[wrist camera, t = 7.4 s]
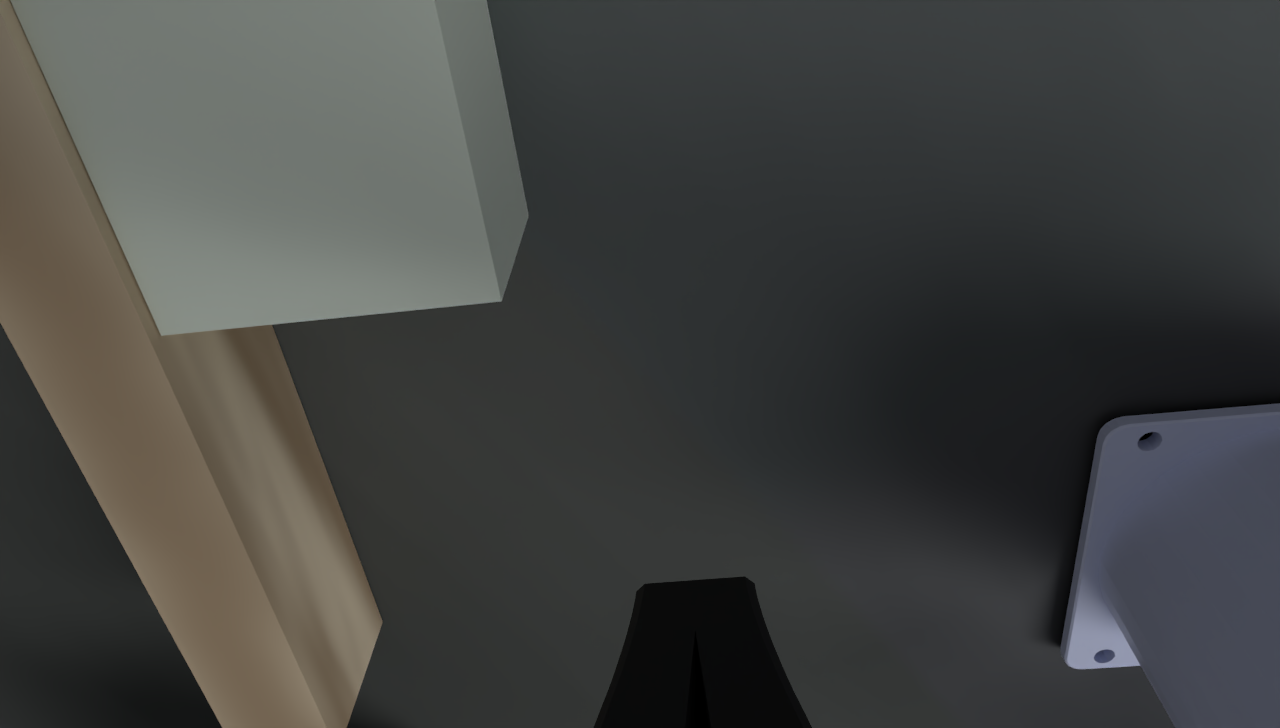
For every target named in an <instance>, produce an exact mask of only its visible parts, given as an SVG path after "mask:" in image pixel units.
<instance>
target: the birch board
mask: <svg viewBox="0 0 1280 728" xmlns="http://www.w3.org/2000/svg"><path fill="white" fill-rule="evenodd" d="M0 323H1V325H2V327H3V328H4V330H5V332H6V334H7V336H8V338H9V339H10V341H11V343H12V345H13V347H14V349H15V350H16V352H17V354H18V356H19V358H20V359H21V361H22V363H23V365H24V367H25V369H26V370H27V372H28V374H29V376H30V378H31V380H32V381H33V383H34V385H35V387H36V389H37V390H38V392H39V394H40V396H41V398H42V400H43V401H44V403H45V405H46V407H47V409H48V411H49V412H50V414H51V416H52V418H53V420H54V422H55V423H56V425H57V427H58V429H59V431H60V432H61V434H62V436H63V438H64V440H65V442H66V443H67V445H68V447H69V449H70V451H71V453H72V454H73V456H74V458H75V460H76V462H77V463H78V465H79V467H80V469H81V471H82V473H83V474H84V476H85V478H86V480H87V482H88V484H89V485H90V487H91V489H92V491H93V493H94V495H95V496H96V498H97V500H98V502H99V504H100V505H101V507H102V509H103V511H104V513H105V515H106V516H107V518H108V520H109V522H110V524H111V526H112V527H113V529H114V531H115V533H116V535H117V536H118V538H119V540H120V542H121V544H122V546H123V547H124V549H125V551H126V553H127V555H128V557H129V558H130V560H131V562H132V564H133V566H134V567H135V569H136V571H137V573H138V575H139V577H140V578H141V580H142V582H143V584H144V586H145V588H146V589H147V591H148V593H149V595H150V597H151V599H152V600H153V602H154V604H155V606H156V608H157V609H158V611H159V613H160V615H161V617H162V619H163V620H164V622H165V624H166V626H167V628H168V630H169V631H170V633H171V635H172V637H173V639H174V640H175V642H176V644H177V646H178V648H179V650H180V651H181V653H182V655H183V657H184V659H185V661H186V662H187V664H188V666H189V668H190V670H191V672H192V673H193V675H194V677H195V679H196V681H197V682H198V684H199V686H200V688H201V690H202V692H203V693H204V695H205V697H206V699H207V701H208V703H209V704H210V706H211V708H212V710H213V712H214V713H215V715H216V717H217V719H218V721H219V723H220V724H221V726H222V728H347V725H348V722H349V719H350V716H351V713H352V710H353V707H354V705H355V702H356V699H357V696H358V693H359V690H360V687H361V684H362V681H363V678H364V675H365V672H366V669H367V666H368V663H369V660H370V658H371V655H372V652H373V649H374V646H375V643H376V640H377V637H378V634H379V631H380V628H381V625H382V622H383V621H382V619H381V616H380V613H379V611H378V608H377V605H376V602H375V600H374V597H373V594H372V592H371V589H370V586H369V584H368V581H367V578H366V576H365V573H364V570H363V568H362V565H361V562H360V560H359V557H358V554H357V552H356V549H355V546H354V543H353V541H352V538H351V535H350V533H349V530H348V527H347V525H346V522H345V519H344V517H343V514H342V511H341V509H340V506H339V503H338V501H337V498H336V495H335V493H334V490H333V487H332V484H331V482H330V479H329V476H328V474H327V471H326V468H325V466H324V463H323V460H322V458H321V455H320V452H319V450H318V447H317V444H316V442H315V439H314V436H313V434H312V431H311V428H310V425H309V423H308V420H307V417H306V415H305V412H304V409H303V407H302V404H301V401H300V399H299V396H298V393H297V391H296V388H295V385H294V383H293V380H292V377H291V374H290V372H289V369H288V366H287V364H286V361H285V358H284V356H283V353H282V350H281V348H280V345H279V342H278V340H277V337H276V334H275V332H274V329H273V326H272V325H263V326H253V327H243V328H233V329H223V330H213V331H203V332H193V333H183V334H174V335H164V336H161V334H160V332H159V330H158V327H157V325H156V323H155V321H154V319H153V316H152V314H151V312H150V310H149V307H148V305H147V303H146V301H145V299H144V296H143V294H142V292H141V290H140V287H139V285H138V283H137V281H136V279H135V276H134V274H133V272H132V270H131V267H130V265H129V263H128V261H127V259H126V256H125V254H124V252H123V250H122V247H121V245H120V243H119V241H118V239H117V236H116V234H115V232H114V230H113V227H112V225H111V223H110V221H109V219H108V216H107V214H106V212H105V210H104V207H103V205H102V203H101V201H100V199H99V196H98V194H97V192H96V190H95V187H94V185H93V183H92V181H91V179H90V176H89V174H88V172H87V170H86V167H85V165H84V163H83V161H82V159H81V156H80V154H79V152H78V150H77V147H76V145H75V143H74V141H73V139H72V136H71V134H70V132H69V130H68V127H67V125H66V123H65V121H64V119H63V116H62V114H61V112H60V110H59V107H58V105H57V103H56V101H55V99H54V96H53V94H52V92H51V90H50V87H49V85H48V83H47V81H46V79H45V76H44V74H43V72H42V70H41V67H40V65H39V63H38V61H37V59H36V56H35V54H34V52H33V50H32V47H31V45H30V43H29V41H28V39H27V36H26V34H25V32H24V30H23V27H22V25H21V23H20V21H19V19H18V16H17V14H16V12H15V10H14V7H13V5H12V3H11V1H10V0H0Z"/></svg>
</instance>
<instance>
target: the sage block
mask: <svg viewBox="0 0 1280 728" xmlns="http://www.w3.org/2000/svg"><path fill="white" fill-rule="evenodd" d="M10 1H11V3H12V5H13V7H14V10H15V12H16V14H17V16H18V19H19V21H20V23H21V25H22V27H23V30H24V32H25V34H26V36H27V39H28V41H29V43H30V45H31V47H32V50H33V52H34V54H35V56H36V59H37V61H38V63H39V65H40V67H41V70H42V72H43V74H44V76H45V79H46V81H47V83H48V85H49V87H50V90H51V92H52V94H53V96H54V99H55V101H56V103H57V105H58V107H59V110H60V112H61V114H62V116H63V119H64V121H65V123H66V125H67V127H68V130H69V132H70V134H71V136H72V139H73V141H74V143H75V145H76V147H77V150H78V152H79V154H80V156H81V159H82V161H83V163H84V165H85V167H86V170H87V172H88V174H89V176H90V179H91V181H92V183H93V185H94V187H95V190H96V192H97V194H98V196H99V199H100V201H101V203H102V205H103V207H104V210H105V212H106V214H107V216H108V219H109V221H110V223H111V225H112V227H113V230H114V232H115V234H116V236H117V239H118V241H119V243H120V245H121V247H122V250H123V252H124V254H125V256H126V259H127V261H128V263H129V265H130V267H131V270H132V272H133V274H134V276H135V279H136V281H137V283H138V285H139V287H140V290H141V292H142V294H143V296H144V299H145V301H146V303H147V305H148V307H149V310H150V312H151V314H152V316H153V319H154V321H155V323H156V325H157V327H158V330H159V332H160V334H161V336H164V335H174V334H183V333H193V332H203V331H213V330H223V329H233V328H243V327H253V326H263V325H273V324H283V323H292V322H302V321H312V320H322V319H332V318H342V317H352V316H362V315H372V314H382V313H392V312H402V311H411V310H421V309H431V308H441V307H451V306H461V305H471V304H481V303H491V302H501V301H502V299H503V296H504V293H505V289H506V286H507V283H508V280H509V277H510V274H511V270H512V267H513V264H514V261H515V258H516V255H517V252H518V248H519V245H520V242H521V239H522V236H523V233H524V230H525V226H526V223H527V220H528V217H529V215H528V210H527V204H526V199H525V194H524V189H523V184H522V179H521V174H520V169H519V164H518V158H517V153H516V148H515V143H514V138H513V133H512V128H511V123H510V118H509V112H508V107H507V102H506V97H505V92H504V87H503V82H502V77H501V72H500V66H499V61H498V56H497V51H496V46H495V41H494V36H493V31H492V26H491V21H490V15H489V10H488V5H487V0H10Z"/></svg>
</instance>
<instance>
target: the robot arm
mask: <svg viewBox="0 0 1280 728" xmlns="http://www.w3.org/2000/svg"><path fill="white" fill-rule="evenodd" d="M1150 432H1153V433H1152V435H1151V436H1150V437H1148V438H1147V439H1145V440H1141V441H1139V439H1140V437H1142V436H1143V435H1144V434H1146V433H1150ZM1060 650H1061V654H1062V657H1063V659H1064V661H1065V663H1066V664H1067V665H1068V666H1070V667H1072V668H1075V669H1093V668H1109V667H1125V666H1141V667H1142V669H1143V671H1144V673H1145V674H1146V676H1147V678H1148V680H1149V682H1150V683H1151V685H1152V687H1153V689H1154V691H1155V692H1156V694H1157V696H1158V698H1159V699H1160V701H1161V703H1162V705H1163V707H1164V708H1165V710H1166V712H1167V714H1168V716H1169V717H1170V719H1171V721H1172V723H1173V724H1174V726H1175V728H1280V403H1278V404H1266V405H1254V406H1242V407H1230V408H1218V409H1206V410H1194V411H1182V412H1169V413H1157V414H1145V415H1133V416H1123V417H1118V418H1114V419H1113V420H1111V421H1109V422H1107V423H1106V424H1105V425H1104V426H1103V427H1102V428H1101V429H1100V431H1099V433H1098V436H1097V441H1096V446H1095V452H1094V458H1093V464H1092V469H1091V475H1090V481H1089V487H1088V492H1087V498H1086V504H1085V510H1084V515H1083V521H1082V527H1081V533H1080V538H1079V544H1078V550H1077V556H1076V561H1075V567H1074V573H1073V579H1072V584H1071V590H1070V596H1069V601H1068V607H1067V613H1066V619H1065V624H1064V630H1063V636H1062V642H1061V647H1060ZM594 728H812V727H811V725H810V723H809V721H808V719H807V717H806V715H805V713H804V711H803V709H802V707H801V705H800V703H799V701H798V699H797V697H796V695H795V693H794V691H793V689H792V687H791V684H790V682H789V680H788V678H787V676H786V674H785V671H784V669H783V667H782V664H781V662H780V660H779V657H778V655H777V652H776V650H775V648H774V645H773V643H772V640H771V638H770V635H769V632H768V630H767V627H766V624H765V621H764V618H763V615H762V612H761V608H760V605H759V602H758V598H757V594H756V589H755V584H754V583H753V582H752V581H750V580H749V579H748V578H746V577H733V578H719V579H705V580H692V581H678V582H664V583H650V584H644V585H643V586H642V587H641V588H640V589H639V590H638V591H637V592H636V598H635V603H634V608H633V613H632V617H631V621H630V625H629V628H628V632H627V636H626V639H625V642H624V646H623V649H622V652H621V655H620V658H619V661H618V664H617V667H616V670H615V673H614V676H613V679H612V682H611V684H610V687H609V690H608V692H607V695H606V697H605V700H604V702H603V705H602V708H601V710H600V713H599V715H598V718H597V721H596V723H595V726H594Z"/></svg>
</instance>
